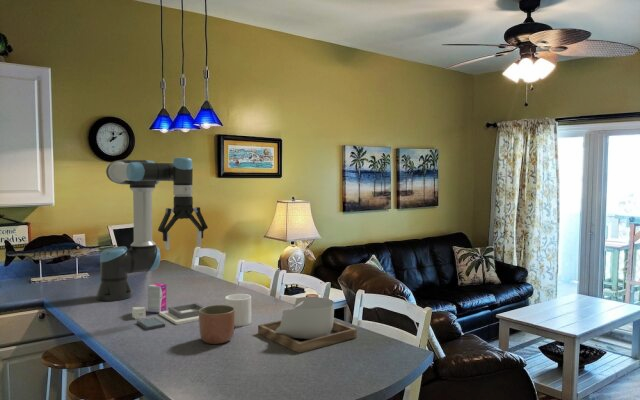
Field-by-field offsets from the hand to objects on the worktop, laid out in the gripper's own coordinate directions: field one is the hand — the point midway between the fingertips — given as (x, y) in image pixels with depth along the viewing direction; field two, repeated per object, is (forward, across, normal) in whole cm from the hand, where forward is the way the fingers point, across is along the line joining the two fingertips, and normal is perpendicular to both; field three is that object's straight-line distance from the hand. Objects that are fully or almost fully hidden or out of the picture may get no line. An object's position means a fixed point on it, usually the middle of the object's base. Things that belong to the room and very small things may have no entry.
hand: (183, 247), depth 202 cm
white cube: (+28, -15, +9) cm, 33 cm away
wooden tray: (+28, +25, -51) cm, 63 cm away
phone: (+28, -15, -4) cm, 32 cm away
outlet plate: (+28, +2, -1) cm, 28 cm away
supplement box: (+28, -6, +13) cm, 32 cm away
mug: (+28, +13, -21) cm, 37 cm away
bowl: (+28, +25, -51) cm, 63 cm away
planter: (+28, -3, -36) cm, 46 cm away
